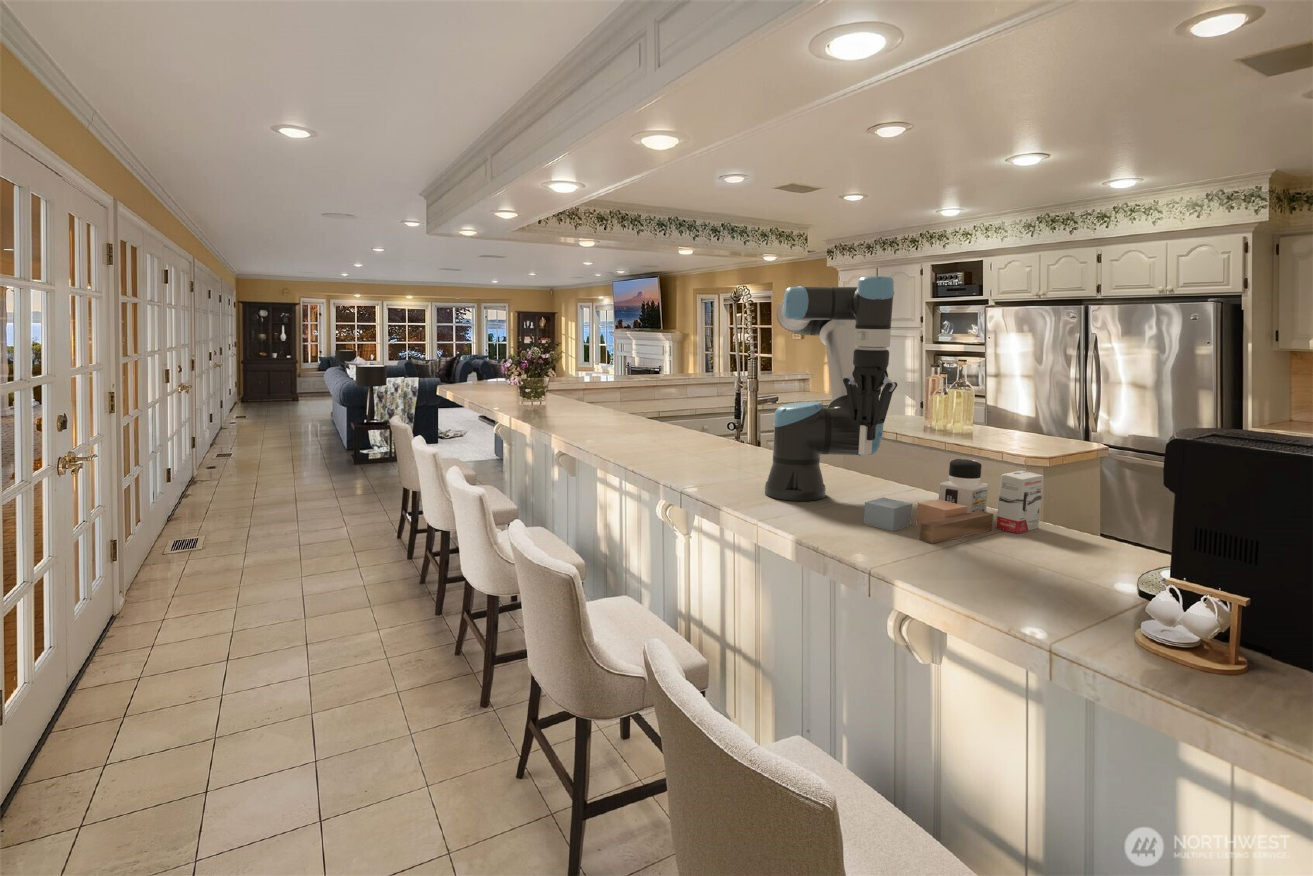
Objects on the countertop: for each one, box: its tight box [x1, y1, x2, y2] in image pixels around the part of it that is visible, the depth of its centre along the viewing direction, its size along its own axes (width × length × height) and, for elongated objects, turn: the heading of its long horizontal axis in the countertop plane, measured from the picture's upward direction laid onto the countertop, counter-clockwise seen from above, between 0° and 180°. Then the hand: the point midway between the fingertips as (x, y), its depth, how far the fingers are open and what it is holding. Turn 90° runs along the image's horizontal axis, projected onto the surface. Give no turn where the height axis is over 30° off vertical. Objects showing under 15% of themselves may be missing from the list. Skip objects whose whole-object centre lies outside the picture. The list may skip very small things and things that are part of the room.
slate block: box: [863, 497, 913, 532], centre depth 152 cm, size 7×7×5 cm
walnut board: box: [919, 511, 994, 545], centre depth 144 cm, size 3×20×4 cm, turn 122°
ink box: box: [995, 470, 1045, 534], centre depth 149 cm, size 8×5×12 cm, turn 123°
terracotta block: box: [915, 498, 967, 527], centre depth 150 cm, size 7×7×5 cm
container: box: [938, 458, 989, 513], centre depth 158 cm, size 8×8×13 cm
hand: (865, 453), depth 159 cm, fingers closed
